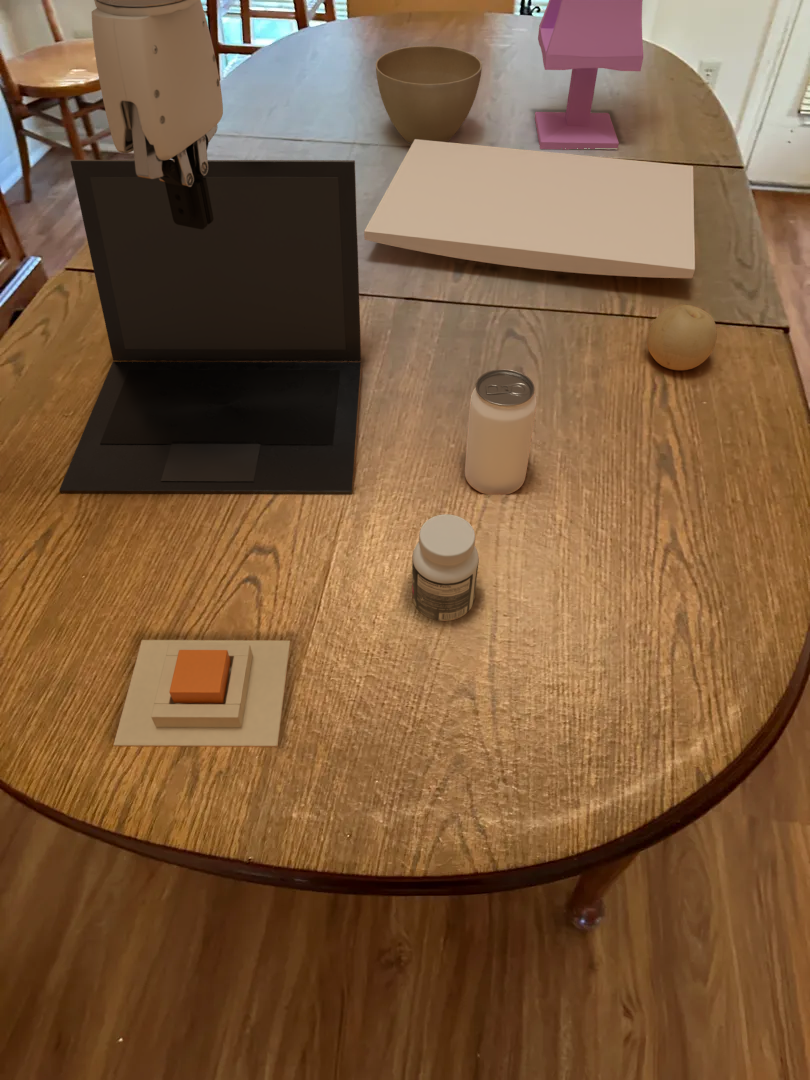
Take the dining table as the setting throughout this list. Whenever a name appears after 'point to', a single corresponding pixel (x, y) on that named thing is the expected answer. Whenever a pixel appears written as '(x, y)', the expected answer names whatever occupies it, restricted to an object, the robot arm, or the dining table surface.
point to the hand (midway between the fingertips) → (194, 222)
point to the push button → (200, 676)
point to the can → (499, 431)
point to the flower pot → (428, 90)
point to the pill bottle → (444, 568)
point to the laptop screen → (227, 262)
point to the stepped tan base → (230, 724)
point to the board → (541, 210)
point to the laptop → (221, 429)
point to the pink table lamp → (586, 65)
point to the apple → (682, 337)
